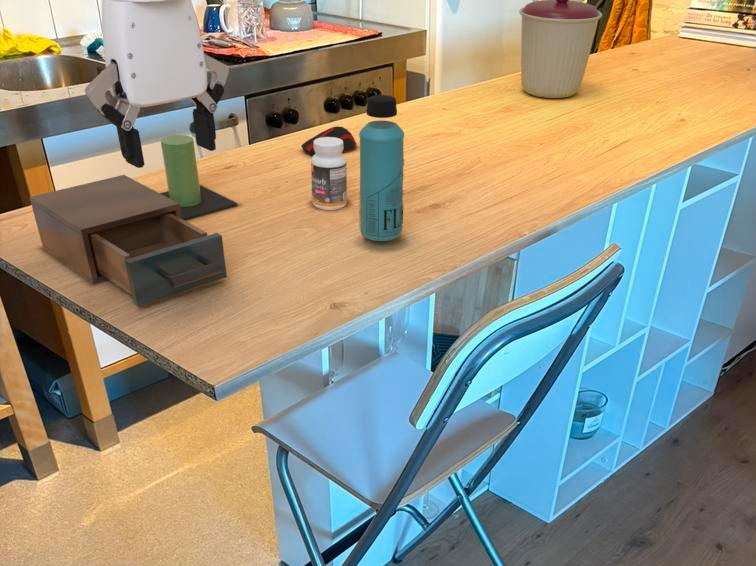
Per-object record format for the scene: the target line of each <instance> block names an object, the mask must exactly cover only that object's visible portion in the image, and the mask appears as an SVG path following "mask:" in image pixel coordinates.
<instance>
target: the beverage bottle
mask: <svg viewBox="0 0 756 566" xmlns="http://www.w3.org/2000/svg"><path fill="white" fill-rule="evenodd" d="M366 103H367V105H366V115H367V116H368V117H371V118H375V119H388V118H393V117H396V116H398V109H397V99H396V97H394V96H392V95H387V94H375V95H371V96H369V97H368V98H367V101H366ZM358 136H359V172H360V173H359V183H358V184H359V192H358V194H359V197H358V200H359V211H358V215H359V220H358V221H359V222H358V223H359V230H360V233H361V236H362V237H363V238H365V239H367V240H371V241H376V242H388V241H393V240H396V239H398V238H399V237H401V236H402V235H401V234H402V232H403V228H404V200H403V197H404V194H405V193H404V177H405V174H404V166H405V159H404V158H405V156H406V155H404V153H405V151H404V142H405V141H404V138H405V131H404V130H403V129H402V128H401V127H400V125H398V124H397V123H396V122H394V121H390V120H372V121H369V122H367V123H366V124H365V125H364V126H363V127H362V128H361V129H360V131H359V133H358Z"/></svg>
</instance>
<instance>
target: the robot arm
mask: <svg viewBox="0 0 756 566" xmlns="http://www.w3.org/2000/svg"><path fill="white" fill-rule="evenodd" d="M101 30H102V31H101V33H102V34H101V35H102V45H103V54H104V62H105V63H104V64H105V68H104V69H103V70H101V72H99V74H97V76H95V77H94V79H92V80H91V81H90V82H89V83H88V84H87V85H86V86H85V87H84V94H85V95H86V97H87V98H88V99H89V101H90V102H91V103H92V105H93V106H94V107H95V108H96V110H97V112H98V113H99V114H100V115H101V116H103V117H104V118H105V119H106V120H107V121H108V122H110V124H112V125H113V126H115V127H116V132H117V136H118V142H119V147H120V153H121V156H122V158H123V159H124V160H125V161H126V163H127V164H129V165H131V166H133V167H135V168H137V169H142V168H144V166H145V159H144V152H143V147H142V141H141V136H140V131H139V130H138V129H137V128H135V127H134V125H135V123H136V120H137V118H138V116H139V114H140V111H141V109H142V108H149V107H154V106H159V105H160V106H161V105H165V104H170V103H174V102H180V101H185V100H190V101H191V102H192V103H193V104H194V105H195V108H193V109H192V119H193V127H194V135H195V142H196V145H197V146H198V147H200V148H203V149H205V150H207V151H209V152H214V151H216V149H217V146H216V145H217V144H216V139H217V133H216V124H215V115H214V114H216V113H217V111H218V104H219V102H220V100H221V98H222V96H224V94H225V85H226V83H227V79H228V76H229V72H230V67H229V66H228V65H227V64H225V63H223V62H221V61H219V60H217V59H215V58H213V57H212V56H209V55H207V54H206V53H205V51H204V45H203V40H202V36H201V30H200V26H199V23H198V19H197V15H196V12H195V8H194V5H193V2H192V0H101ZM207 70H208V71H209V72H210V74H211V77H210V82H209V83H208V71H207ZM108 91H109V92H110V95H111V96H112V97H113V98H114V99H115V100H117V101H116V103H115V106H113V105H111V103H110V102H109V100H108V99H107V96H106V94H107V92H108Z"/></svg>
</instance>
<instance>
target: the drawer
mask: <svg viewBox="0 0 756 566" xmlns="http://www.w3.org/2000/svg"><path fill="white" fill-rule="evenodd" d="M88 238H89V242H90V246H91V251H92V255H93V260H94V264H95V268H96V271H97V272H99V273H100V274H101V275H103V276H104V277H106V278H107V279H109V280H108V281H110V282H111V283H113V284H114V285H116V286H117V287H118V288H120V289H122V290H123V291H125V292H126V293H128V294H129V295H130V296H131V299H132V303H133V304H134V305H135V306H136V307H142V306H144V305H147V304H151V303H153V302H156V301H159V300H162V299H166V298H168V297H171V296H174V295H177V294H180V293H183V292H186V291H189V290H192V289H196V288H199V287H201V286H205V285H207V284H210V283H214V282H217V281H219V280H224V279H226V278H228V275H227V268H226V259H225V251H224V243H223V241H224V240H223V235H222V234H221V233H219V232H215V233H211V234H208V232H207V231H205V230H203V229H201V228H199V227H197V226H195V225H194V224H192V223H190V222H189V221H188V220H186V221H185V220H183V219H181V218H179V217H177V216H175V215H174V214H172V213H170V212H168V213H164V214H161V215H157V216H153V217H150V218H146V219H142V220H138V221H135V222H131V223H127V224H124V225H120V226H116V227H112V228H109V229H105V230H101V231H98V232H94V233H90V234H88Z"/></svg>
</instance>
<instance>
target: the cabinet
mask: <svg viewBox="0 0 756 566" xmlns="http://www.w3.org/2000/svg"><path fill="white" fill-rule="evenodd" d="M160 193H161V192H158V191H156V190H154V189H152V188H151V187H148V186H147V185H145V184H144V183H141V182H139V181H137V180H136V179H134V178H131V177H129V176H128V175H126V174H122V175H117V176H113V177H107V178H104V179H100V180H96V181H92V182H87V183H82V184H79V185H74V186H70V187H66V188H62V189H61V188H60V189H57V190H54V191H49V192H44V193H41V194H40V193H39V194H36V195H32V196H29V200H30V205H31V208H32V211H33V216H34V220H35V223H36V227H37V231H38V235H39V238H40V241H41V242H40V243H41V245H42V249H43V250H44V251H45V252H47V253H48V254H50V255H51V256H52V257H54V258H55V259H57V260H58V261H60V262H61V263H62V264H64V265H65V266H67V267H68V268H70V269H71V270H72V271H73V272H75V273H76V274H78V275H79V276H81V278H83V279H85V280H86V281H88V282H89V283H91V284H92V285H96V284H99V283H104V282H105V281H106V282H107V281H110V280H109V279H107V278H106V277H104V276H103V275H101V274H100V273H99V272H97V271H96V268H95V264H94V260H93V255H92V251H91V246H90V242H89V238H88V234H90V233H94V232H98V231H101V230H105V229H109V228H112V227H116V226H120V225H124V224H127V223H131V222H135V221H138V220H142V219H146V218H150V217H153V216H157V215H161V214H164V213H168V212H170V213H172V214H174V215H175V216H177V217H179V218H181V211H180V204H179V203H177V202H175V201H173V200H171V199H169V198H168V197H166V196H164V195H162V194H160ZM181 219H182V218H181Z"/></svg>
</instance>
